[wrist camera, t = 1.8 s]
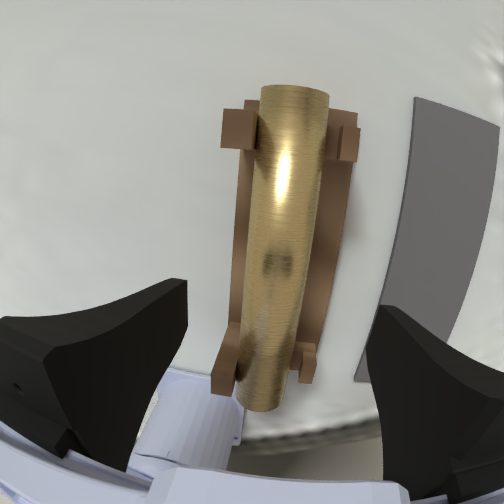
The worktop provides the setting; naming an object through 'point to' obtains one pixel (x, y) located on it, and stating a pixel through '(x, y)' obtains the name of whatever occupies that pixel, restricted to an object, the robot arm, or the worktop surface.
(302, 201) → the rail
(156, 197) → the worktop surface
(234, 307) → the hook stand
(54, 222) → the worktop surface
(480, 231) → the mat
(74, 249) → the worktop surface
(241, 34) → the worktop surface
